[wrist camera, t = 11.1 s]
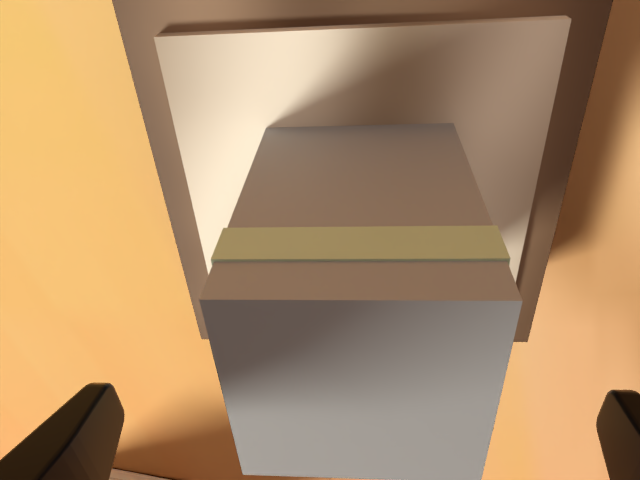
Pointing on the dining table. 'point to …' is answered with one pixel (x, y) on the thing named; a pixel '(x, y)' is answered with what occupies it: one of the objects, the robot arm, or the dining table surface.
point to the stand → (365, 99)
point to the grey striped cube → (361, 307)
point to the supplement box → (131, 476)
